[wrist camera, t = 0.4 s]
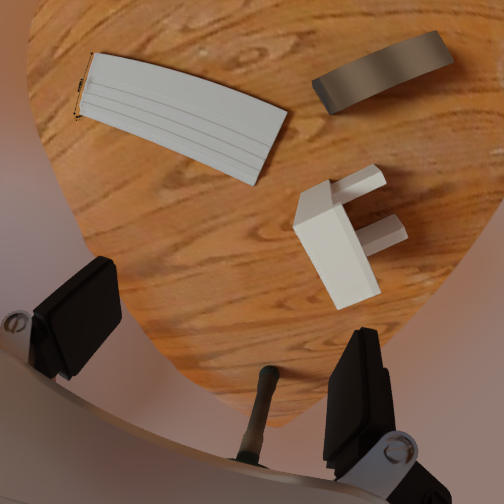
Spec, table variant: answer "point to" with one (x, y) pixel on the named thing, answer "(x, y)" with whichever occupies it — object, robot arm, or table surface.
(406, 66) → the rail
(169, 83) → the baseboard molding
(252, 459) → the potato masher grenade
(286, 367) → the table surface
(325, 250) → the white forked bracket
